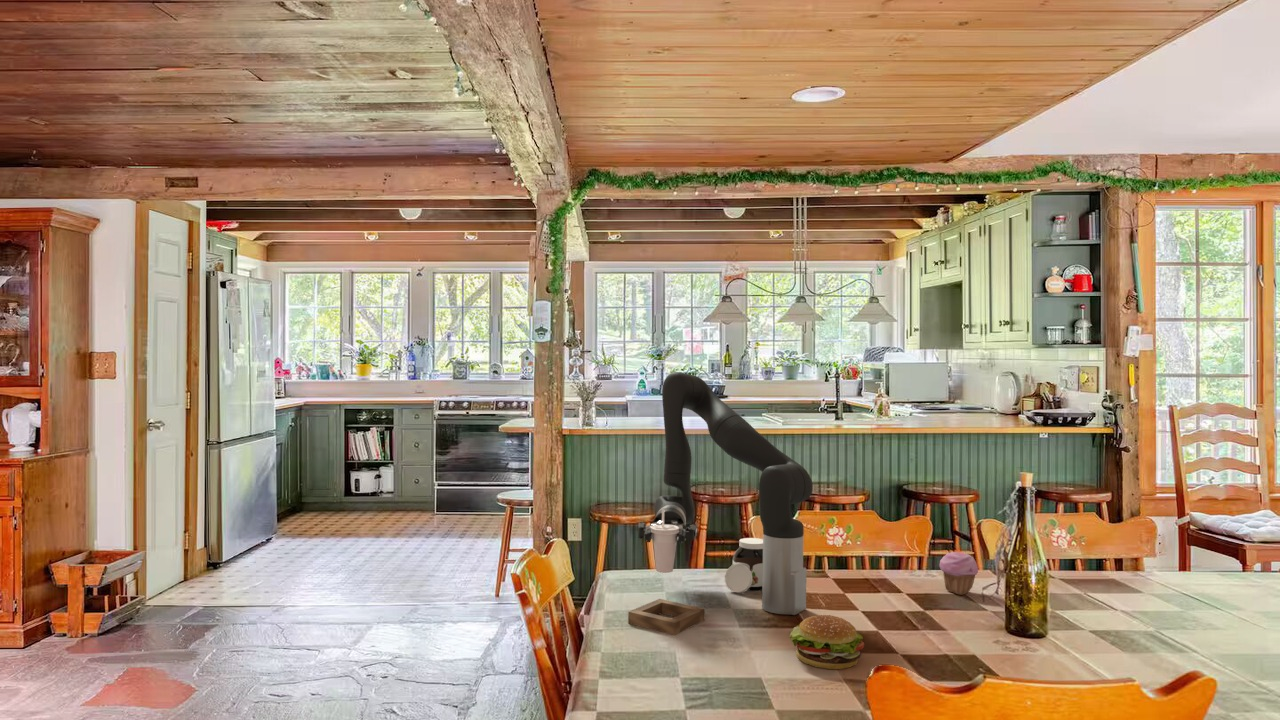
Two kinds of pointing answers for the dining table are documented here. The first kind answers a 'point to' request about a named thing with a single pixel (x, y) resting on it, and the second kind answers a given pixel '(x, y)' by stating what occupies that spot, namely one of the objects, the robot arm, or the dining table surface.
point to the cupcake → (958, 572)
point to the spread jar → (746, 566)
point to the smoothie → (664, 545)
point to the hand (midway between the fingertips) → (664, 538)
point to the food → (827, 642)
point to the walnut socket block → (650, 617)
